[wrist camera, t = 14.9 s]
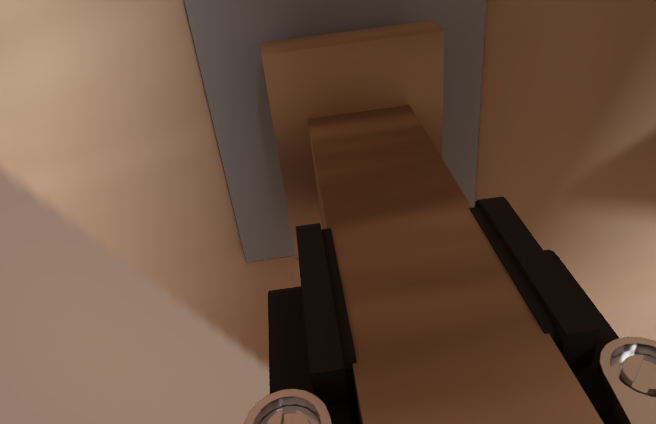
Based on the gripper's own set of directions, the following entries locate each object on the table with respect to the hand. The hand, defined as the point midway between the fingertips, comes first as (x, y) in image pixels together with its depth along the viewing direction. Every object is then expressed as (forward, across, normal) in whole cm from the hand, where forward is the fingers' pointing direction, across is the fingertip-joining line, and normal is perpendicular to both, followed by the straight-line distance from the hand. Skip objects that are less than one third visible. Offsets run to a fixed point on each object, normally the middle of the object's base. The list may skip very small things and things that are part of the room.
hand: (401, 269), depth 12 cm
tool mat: (+8, 0, 0) cm, 8 cm away
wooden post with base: (+7, 0, 0) cm, 7 cm away
